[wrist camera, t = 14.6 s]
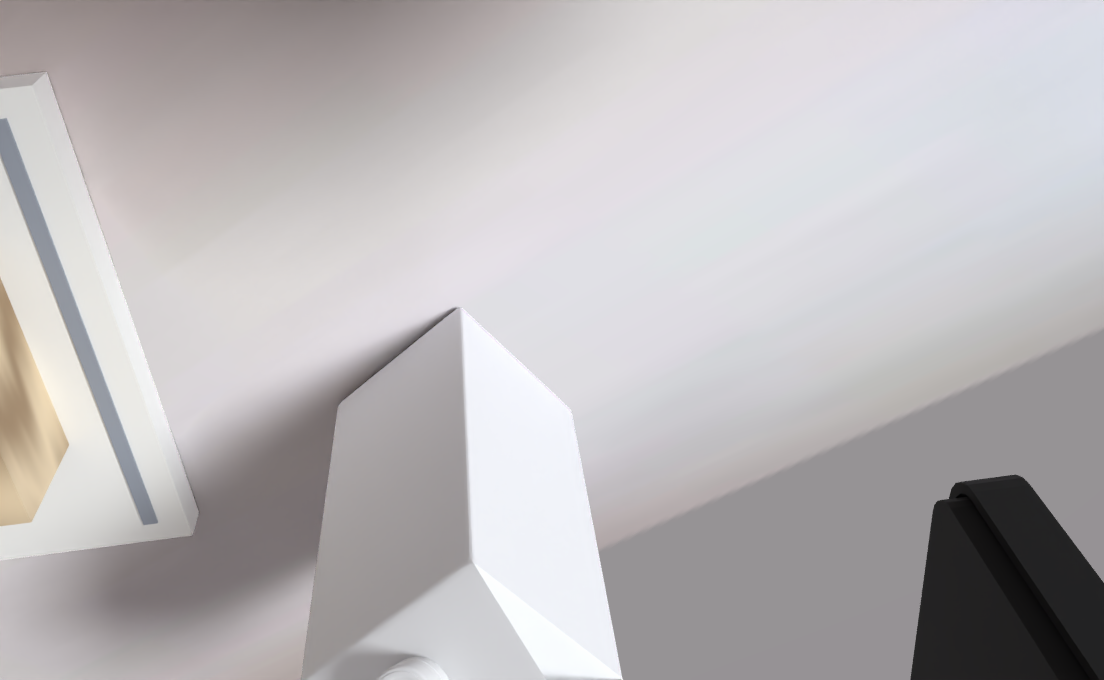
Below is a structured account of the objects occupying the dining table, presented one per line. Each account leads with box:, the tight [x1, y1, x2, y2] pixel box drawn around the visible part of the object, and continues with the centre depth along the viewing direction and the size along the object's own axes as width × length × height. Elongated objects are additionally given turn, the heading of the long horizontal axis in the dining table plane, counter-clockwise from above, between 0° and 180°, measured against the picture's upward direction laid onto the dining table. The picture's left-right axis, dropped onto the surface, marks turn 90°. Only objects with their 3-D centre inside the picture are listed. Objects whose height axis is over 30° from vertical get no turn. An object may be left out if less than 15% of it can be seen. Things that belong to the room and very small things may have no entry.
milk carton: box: [301, 308, 623, 680], centre depth 37 cm, size 7×7×19 cm
